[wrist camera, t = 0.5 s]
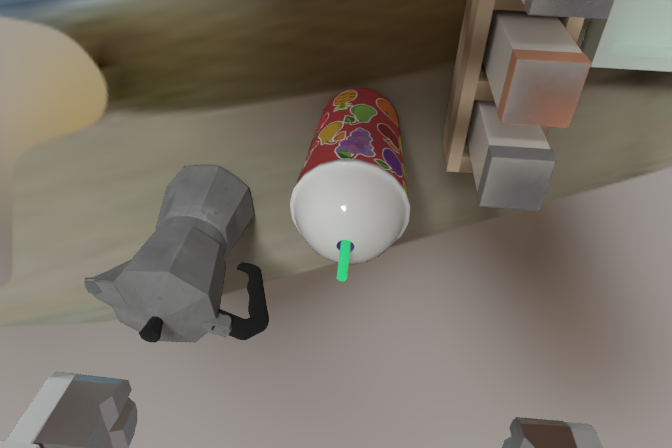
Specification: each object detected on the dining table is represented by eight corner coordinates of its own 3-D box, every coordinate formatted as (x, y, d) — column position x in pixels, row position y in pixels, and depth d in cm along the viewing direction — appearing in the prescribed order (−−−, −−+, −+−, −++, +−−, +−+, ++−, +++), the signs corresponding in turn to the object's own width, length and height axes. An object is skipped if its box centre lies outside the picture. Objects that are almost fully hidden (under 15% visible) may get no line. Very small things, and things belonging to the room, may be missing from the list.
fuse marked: (490, -2, 37) (517, 58, 29) (547, 1, 37) (591, 62, 29) (479, 53, 40) (500, 123, 32) (532, 56, 40) (568, 127, 31)
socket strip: (492, -148, 33) (506, -139, 29) (604, -144, 33) (634, -134, 29) (442, 137, 47) (446, 171, 43) (520, 142, 46) (532, 177, 42)
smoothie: (317, 156, 49) (281, 320, 34) (310, 73, 44) (263, 223, 29) (405, 156, 48) (409, 325, 33) (409, 71, 43) (415, 226, 28)
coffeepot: (145, 211, 56) (63, 348, 42) (153, 142, 50) (61, 275, 36) (280, 254, 58) (244, 397, 44) (304, 192, 52) (271, 335, 38)
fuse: (473, 82, 42) (492, 156, 33) (524, 85, 41) (556, 160, 33) (463, 127, 44) (479, 206, 36) (512, 130, 44) (538, 210, 36)
